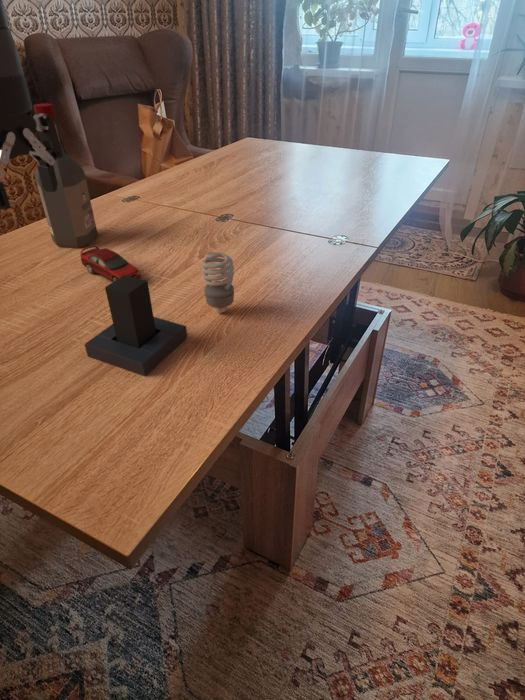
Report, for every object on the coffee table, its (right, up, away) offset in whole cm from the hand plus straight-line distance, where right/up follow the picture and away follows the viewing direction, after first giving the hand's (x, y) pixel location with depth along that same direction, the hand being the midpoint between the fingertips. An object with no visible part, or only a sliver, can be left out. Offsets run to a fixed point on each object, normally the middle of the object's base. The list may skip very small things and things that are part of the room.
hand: (28, 199), depth 70 cm
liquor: (-12, +5, +48) cm, 49 cm away
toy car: (+2, -6, +33) cm, 33 cm away
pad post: (+13, -21, +11) cm, 28 cm away
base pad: (+13, -21, +11) cm, 28 cm away
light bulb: (+26, -15, +20) cm, 36 cm away
